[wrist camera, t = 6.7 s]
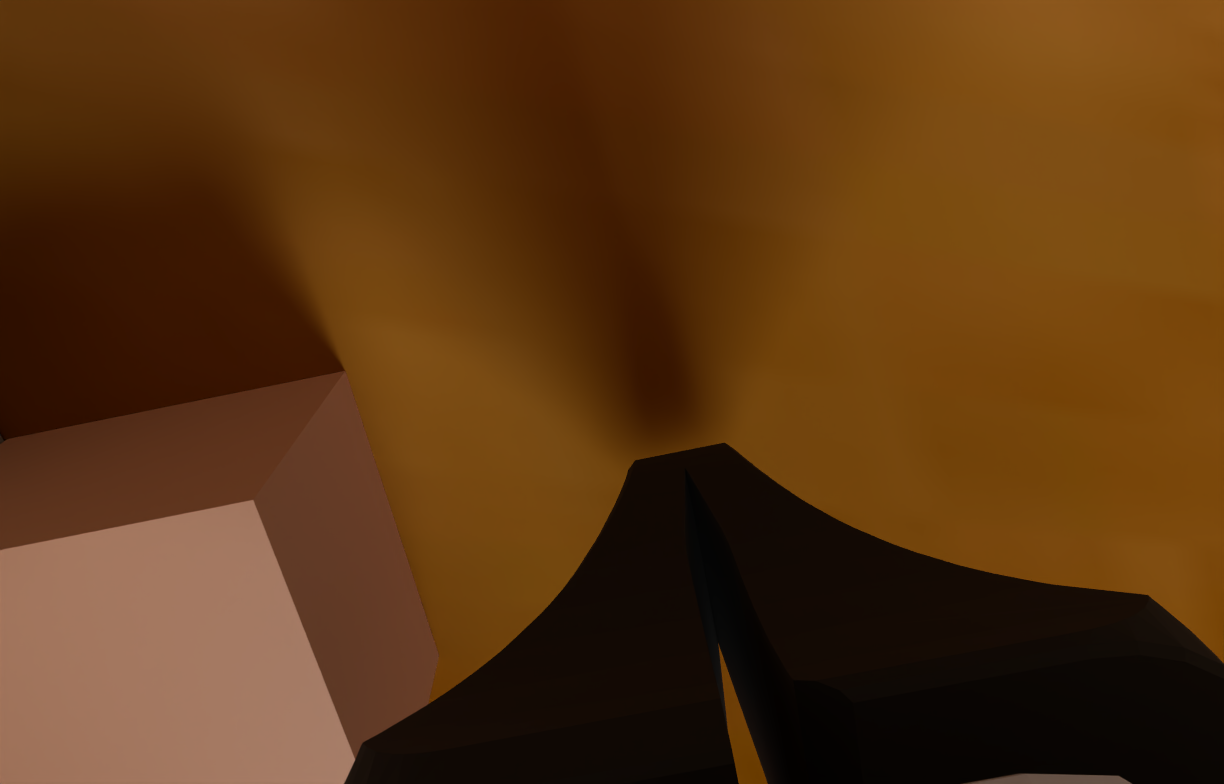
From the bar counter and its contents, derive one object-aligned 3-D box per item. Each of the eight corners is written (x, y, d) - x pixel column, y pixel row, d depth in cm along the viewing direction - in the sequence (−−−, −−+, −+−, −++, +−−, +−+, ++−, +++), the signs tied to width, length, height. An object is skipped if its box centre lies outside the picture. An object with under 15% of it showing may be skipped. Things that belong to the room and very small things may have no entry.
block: (439, 649, 14) (393, 858, 11) (145, 706, 15) (-1, 929, 11) (347, 367, 13) (253, 499, 9) (13, 435, 13) (-217, 593, 9)
